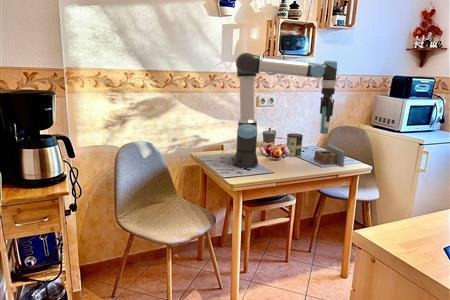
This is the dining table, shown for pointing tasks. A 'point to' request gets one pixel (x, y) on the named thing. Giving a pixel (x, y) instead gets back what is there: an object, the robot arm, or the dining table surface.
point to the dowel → (323, 122)
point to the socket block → (325, 157)
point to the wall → (339, 154)
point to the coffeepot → (269, 136)
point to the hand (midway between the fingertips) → (324, 126)
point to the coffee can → (294, 144)
